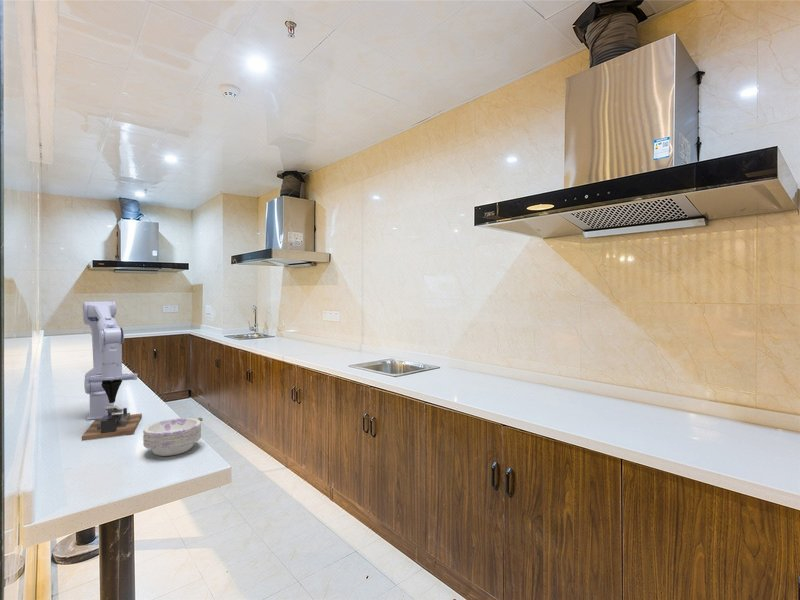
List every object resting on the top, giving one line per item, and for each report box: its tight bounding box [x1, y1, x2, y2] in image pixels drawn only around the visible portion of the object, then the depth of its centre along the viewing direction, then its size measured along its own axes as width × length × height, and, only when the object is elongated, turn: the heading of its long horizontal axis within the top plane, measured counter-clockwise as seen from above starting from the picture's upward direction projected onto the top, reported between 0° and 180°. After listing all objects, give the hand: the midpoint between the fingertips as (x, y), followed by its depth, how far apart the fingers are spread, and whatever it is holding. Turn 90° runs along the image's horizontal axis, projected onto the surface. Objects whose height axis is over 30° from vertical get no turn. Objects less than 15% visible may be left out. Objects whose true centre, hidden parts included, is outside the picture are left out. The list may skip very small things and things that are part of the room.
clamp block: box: [97, 407, 131, 433], centre depth 140 cm, size 16×8×4 cm, turn 26°
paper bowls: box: [142, 417, 202, 457], centre depth 122 cm, size 15×15×8 cm
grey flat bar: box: [105, 405, 123, 414], centre depth 141 cm, size 14×3×1 cm, turn 26°
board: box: [81, 413, 143, 442], centre depth 141 cm, size 20×14×2 cm
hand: (112, 402), depth 138 cm, fingers closed
